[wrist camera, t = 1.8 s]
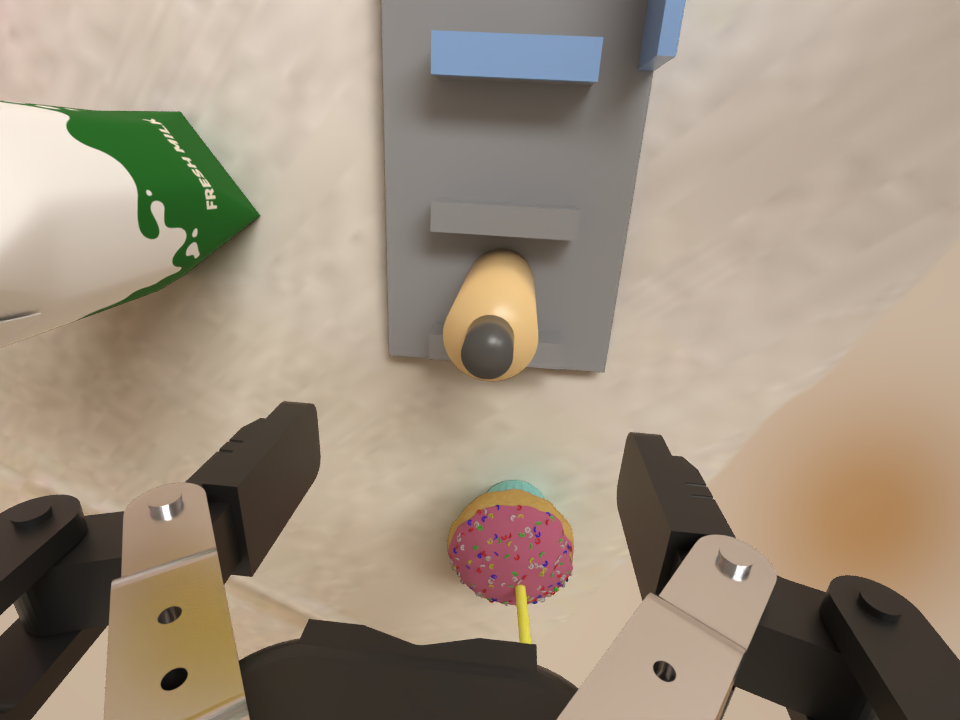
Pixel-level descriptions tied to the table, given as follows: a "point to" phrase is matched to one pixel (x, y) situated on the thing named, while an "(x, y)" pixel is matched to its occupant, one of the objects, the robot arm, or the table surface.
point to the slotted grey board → (515, 157)
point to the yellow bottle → (494, 318)
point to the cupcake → (512, 548)
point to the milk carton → (102, 210)
